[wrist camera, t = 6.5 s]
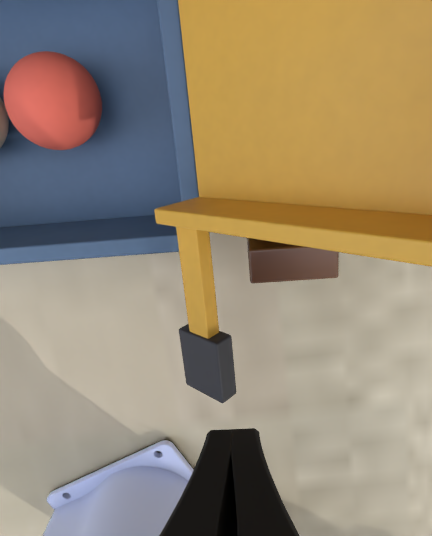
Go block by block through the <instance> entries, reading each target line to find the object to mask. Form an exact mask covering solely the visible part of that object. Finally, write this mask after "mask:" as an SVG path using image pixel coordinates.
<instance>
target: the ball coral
mask: <svg viewBox="0 0 432 536" xmlns="http://www.w3.org/2000/svg"><path fill="white" fill-rule="evenodd" d="M4 103H5V108H6V111H7V113H8V116H9V118H10V120H11V121H12V123H13V125H14V126H15V127H16V129H17V130H18V131H19V132H20V133H21V134H22V135H23V136H24V137H26V138H27V139H28V140H30V141H31V142H33V143H34V144H36V145H39V146H41V147H44V148H47V149H52V150H67V149H72V148H75V147H77V146H80V145H81V144H83V143H85V142H86V141H87V140H88V139H89V138H90V137H91V136H92V135H93V134H94V133H95V131H96V129H97V128H98V125H99V123H100V120H101V115H102V100H101V95H100V91H99V89H98V86H97V84H96V82H95V80H94V79H93V77H92V76H91V74H90V73H89V72H88V71H87V70H86V69H85V68H84V67H83V66H82V65H81V64H80V63H78V62H77V61H76V60H74V59H72V58H70V57H68V56H66V55H64V54H61V53H57V52H49V51H43V52H36V53H32V54H29V55H27V56H25V57H23V58H22V59H20V60H19V61H18V62H17V63H16V64H15V65H14V66H13V67H12V68H11V70H10V72H9V73H8V75H7V78H6V81H5V85H4Z"/></svg>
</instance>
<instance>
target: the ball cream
mask: <svg viewBox="0 0 432 536" xmlns="http://www.w3.org/2000/svg"><path fill="white" fill-rule="evenodd" d="M8 127H9V120H8V114H7V111H6V108H5V105H4V103H3V101H2V99H1V98H0V148H1V146H2V145H3V143H4V142H5V139H6V137H7V134H8Z"/></svg>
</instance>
